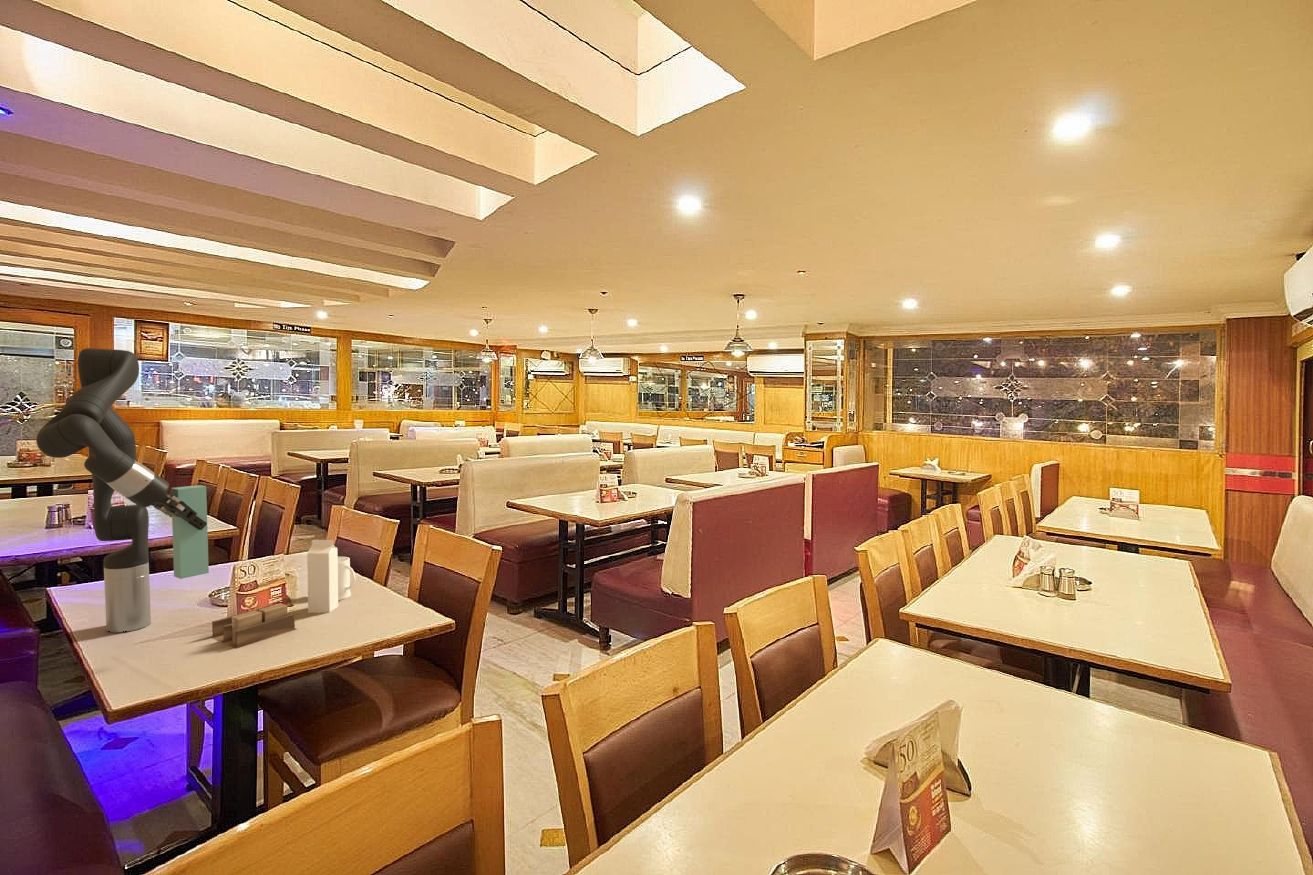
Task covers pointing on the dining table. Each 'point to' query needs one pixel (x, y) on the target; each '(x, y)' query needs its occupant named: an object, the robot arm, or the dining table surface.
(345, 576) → the mug
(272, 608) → the offcut
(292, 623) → the rack
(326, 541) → the milk
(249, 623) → the offcut
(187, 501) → the teal rectangular block
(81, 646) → the dining table surface
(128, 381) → the robot arm
